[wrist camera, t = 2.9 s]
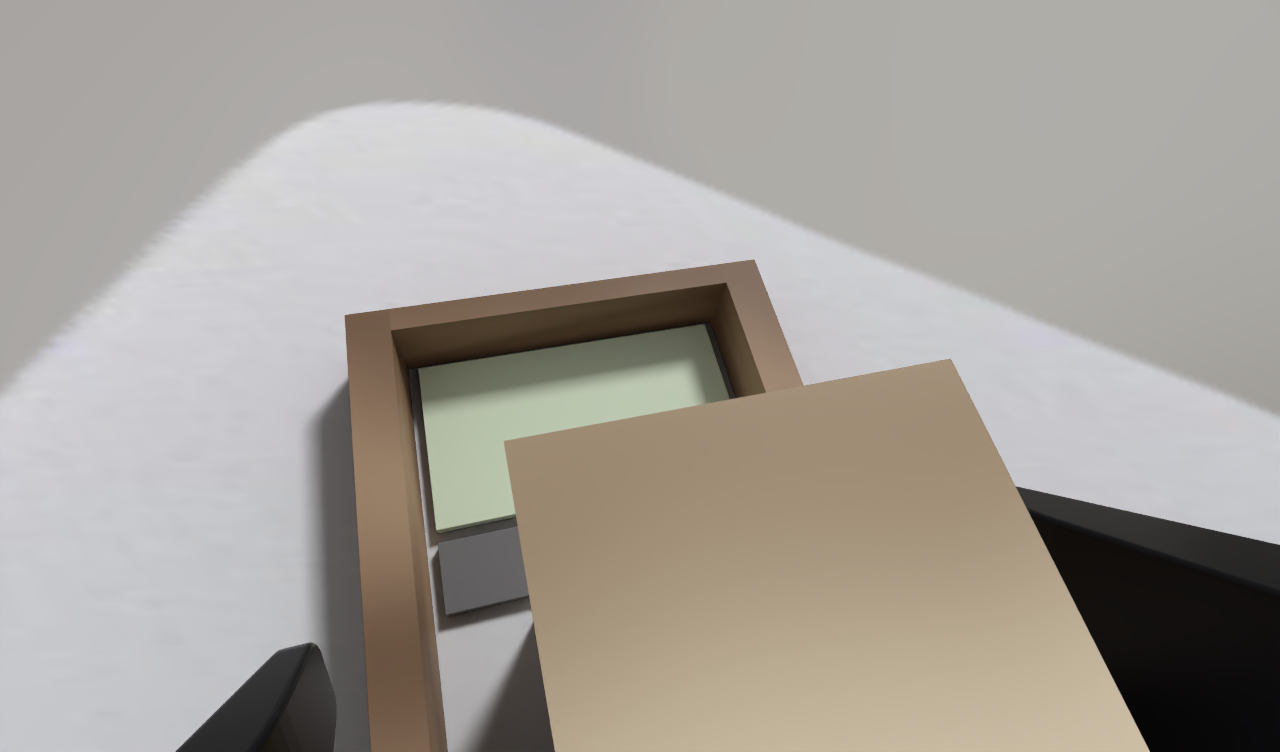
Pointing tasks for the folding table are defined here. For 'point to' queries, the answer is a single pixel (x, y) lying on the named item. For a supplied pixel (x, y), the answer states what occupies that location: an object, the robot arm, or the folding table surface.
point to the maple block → (803, 581)
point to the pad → (548, 407)
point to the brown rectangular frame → (476, 329)
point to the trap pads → (482, 570)
